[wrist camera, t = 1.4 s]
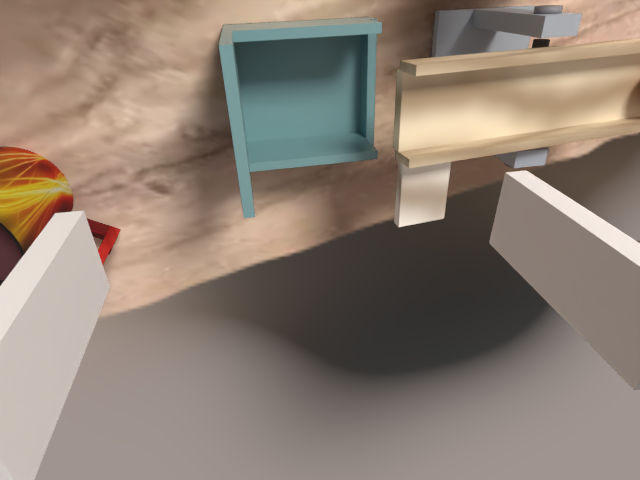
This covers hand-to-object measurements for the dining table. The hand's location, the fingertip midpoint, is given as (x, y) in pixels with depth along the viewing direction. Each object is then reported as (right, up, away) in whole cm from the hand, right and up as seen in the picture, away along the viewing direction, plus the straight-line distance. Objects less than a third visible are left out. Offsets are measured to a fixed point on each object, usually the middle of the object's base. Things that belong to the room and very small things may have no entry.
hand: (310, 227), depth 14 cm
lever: (+19, +10, +25) cm, 33 cm away
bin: (-2, +15, +29) cm, 33 cm away
